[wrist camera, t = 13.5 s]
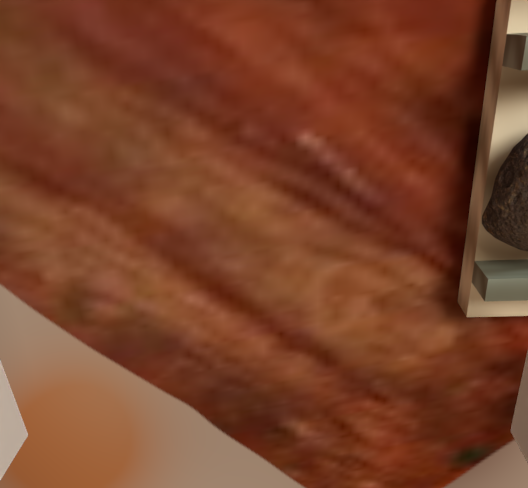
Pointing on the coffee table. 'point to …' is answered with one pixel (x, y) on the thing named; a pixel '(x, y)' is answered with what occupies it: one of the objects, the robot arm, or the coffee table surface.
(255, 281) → the coffee table surface
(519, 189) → the stone
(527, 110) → the cream and green rack
